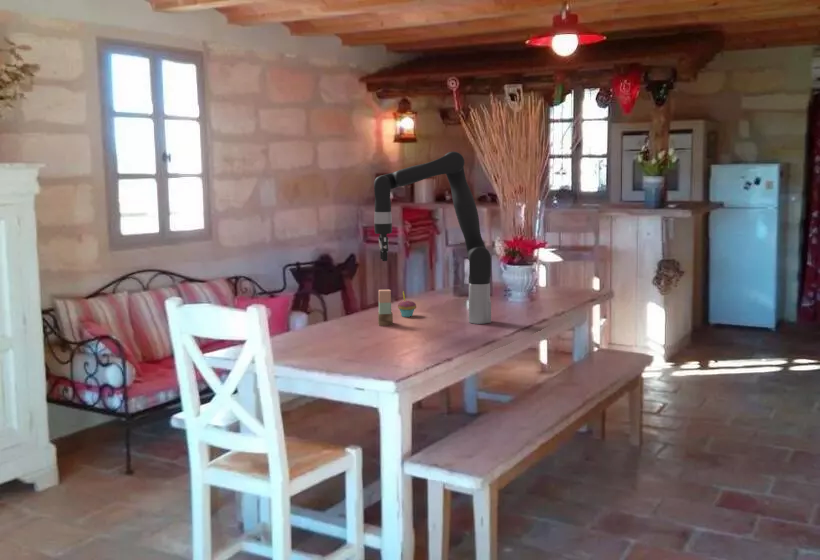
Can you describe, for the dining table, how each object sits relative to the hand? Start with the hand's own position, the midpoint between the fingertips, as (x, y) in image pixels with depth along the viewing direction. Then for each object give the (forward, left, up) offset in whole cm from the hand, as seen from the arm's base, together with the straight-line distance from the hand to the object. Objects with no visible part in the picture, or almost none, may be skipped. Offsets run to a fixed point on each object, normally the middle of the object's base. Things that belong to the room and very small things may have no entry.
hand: (383, 260), depth 371 cm
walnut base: (0, 0, -28) cm, 28 cm away
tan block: (0, 0, -18) cm, 18 cm away
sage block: (0, 0, -23) cm, 23 cm away
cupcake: (-12, -18, -28) cm, 36 cm away
